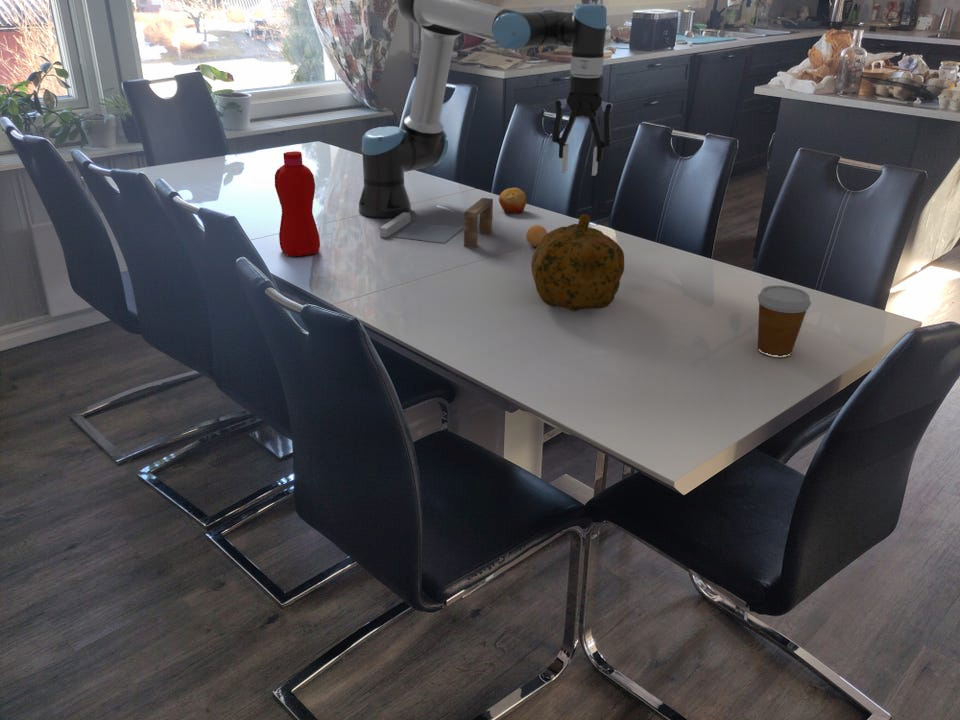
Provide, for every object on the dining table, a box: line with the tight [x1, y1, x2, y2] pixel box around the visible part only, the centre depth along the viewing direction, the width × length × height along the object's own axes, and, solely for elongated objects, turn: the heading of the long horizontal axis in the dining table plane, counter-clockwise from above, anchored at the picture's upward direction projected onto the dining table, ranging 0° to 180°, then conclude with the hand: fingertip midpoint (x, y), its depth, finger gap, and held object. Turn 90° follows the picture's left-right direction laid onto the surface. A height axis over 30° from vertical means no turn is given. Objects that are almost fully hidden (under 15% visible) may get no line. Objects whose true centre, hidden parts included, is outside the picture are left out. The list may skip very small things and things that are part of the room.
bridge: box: [463, 197, 494, 248], centre depth 219 cm, size 3×14×9 cm, turn 161°
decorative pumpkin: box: [530, 214, 625, 312], centre depth 178 cm, size 20×21×20 cm
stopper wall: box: [379, 212, 411, 238], centre depth 227 cm, size 2×16×2 cm, turn 161°
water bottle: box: [274, 150, 321, 257], centre depth 204 cm, size 9×11×25 cm
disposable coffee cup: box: [757, 285, 812, 356], centre depth 158 cm, size 10×10×12 cm
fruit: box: [498, 187, 527, 214], centre depth 244 cm, size 8×8×8 cm
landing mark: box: [395, 222, 464, 244], centre depth 225 cm, size 14×14×1 cm
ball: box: [525, 224, 548, 247], centre depth 216 cm, size 6×6×6 cm
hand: (579, 172), depth 205 cm, fingers open, 7 cm apart
